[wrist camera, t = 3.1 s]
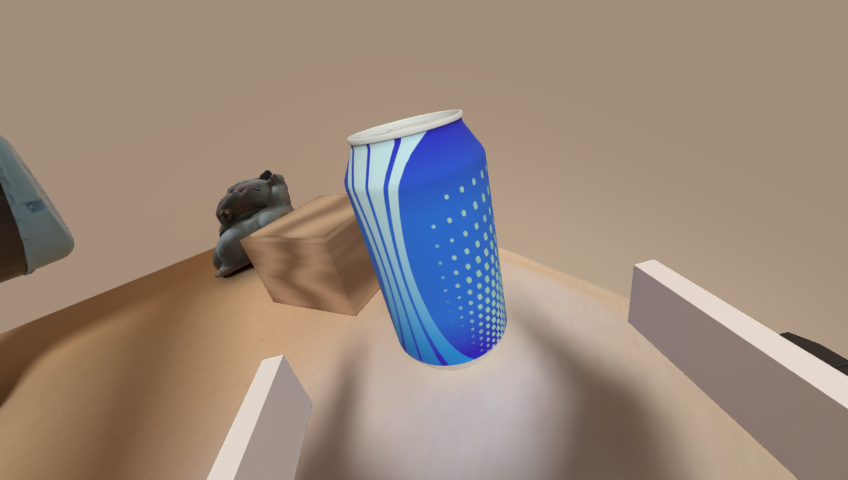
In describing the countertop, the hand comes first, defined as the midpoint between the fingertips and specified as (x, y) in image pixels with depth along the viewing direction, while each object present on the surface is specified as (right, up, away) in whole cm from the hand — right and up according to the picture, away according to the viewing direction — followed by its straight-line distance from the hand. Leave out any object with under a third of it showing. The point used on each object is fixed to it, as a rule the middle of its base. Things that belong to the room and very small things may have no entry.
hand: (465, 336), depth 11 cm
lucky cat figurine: (-26, +1, +36) cm, 44 cm away
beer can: (+1, -4, +13) cm, 13 cm away
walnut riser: (-11, -1, +25) cm, 27 cm away
